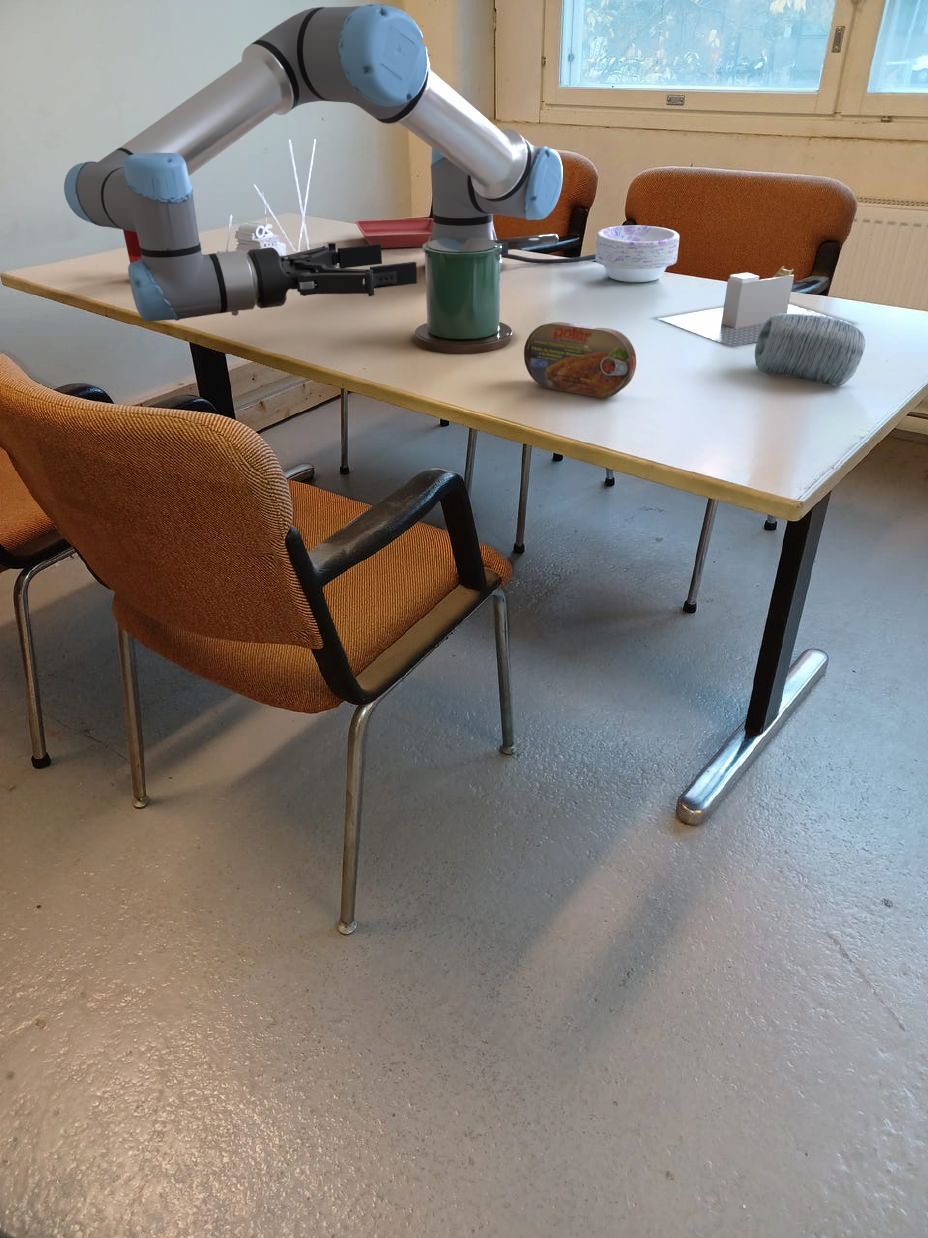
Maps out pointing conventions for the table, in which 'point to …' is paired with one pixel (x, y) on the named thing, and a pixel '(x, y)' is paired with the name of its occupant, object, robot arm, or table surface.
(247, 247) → the wifi router
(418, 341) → the turntable
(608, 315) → the table surface
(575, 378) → the tin
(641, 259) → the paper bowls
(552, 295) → the table surface
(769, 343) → the spool
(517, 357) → the table surface
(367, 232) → the plant saucer
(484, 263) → the pot
